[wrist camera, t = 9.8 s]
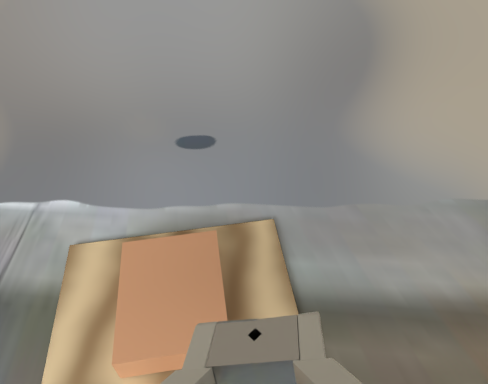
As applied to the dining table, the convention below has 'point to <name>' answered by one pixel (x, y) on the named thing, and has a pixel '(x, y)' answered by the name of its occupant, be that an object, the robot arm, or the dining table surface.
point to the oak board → (106, 294)
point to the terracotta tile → (165, 300)
